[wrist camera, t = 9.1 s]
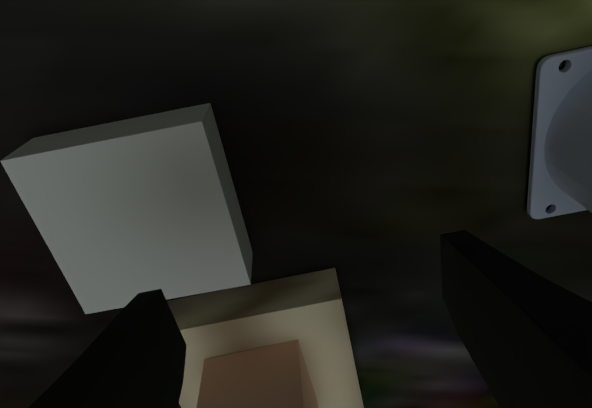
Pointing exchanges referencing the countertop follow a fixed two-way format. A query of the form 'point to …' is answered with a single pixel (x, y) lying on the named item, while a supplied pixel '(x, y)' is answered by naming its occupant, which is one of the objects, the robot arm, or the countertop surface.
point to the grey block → (136, 207)
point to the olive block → (273, 331)
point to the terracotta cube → (258, 379)
